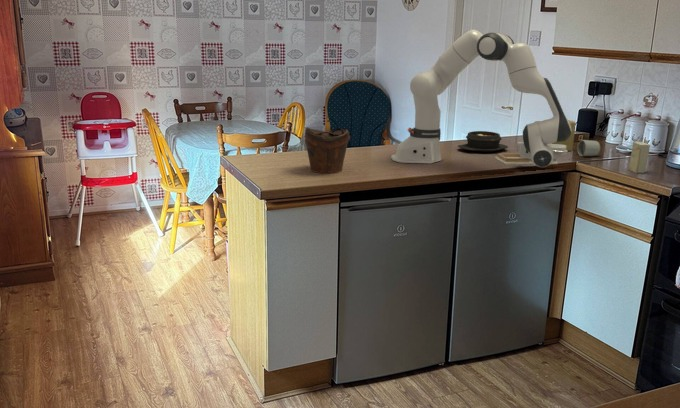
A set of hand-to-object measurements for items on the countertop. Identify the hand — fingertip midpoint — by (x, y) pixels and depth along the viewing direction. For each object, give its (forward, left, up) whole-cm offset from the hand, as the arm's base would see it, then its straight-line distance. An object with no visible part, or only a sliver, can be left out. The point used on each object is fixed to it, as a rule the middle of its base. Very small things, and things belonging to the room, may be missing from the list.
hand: (541, 145), depth 268 cm
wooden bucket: (-94, -7, -9) cm, 95 cm away
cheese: (+17, +30, -9) cm, 35 cm away
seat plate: (-3, +7, -8) cm, 11 cm away
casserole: (-15, +32, -9) cm, 36 cm away
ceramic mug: (+31, +18, -9) cm, 37 cm away
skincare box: (+37, -15, -9) cm, 41 cm away
